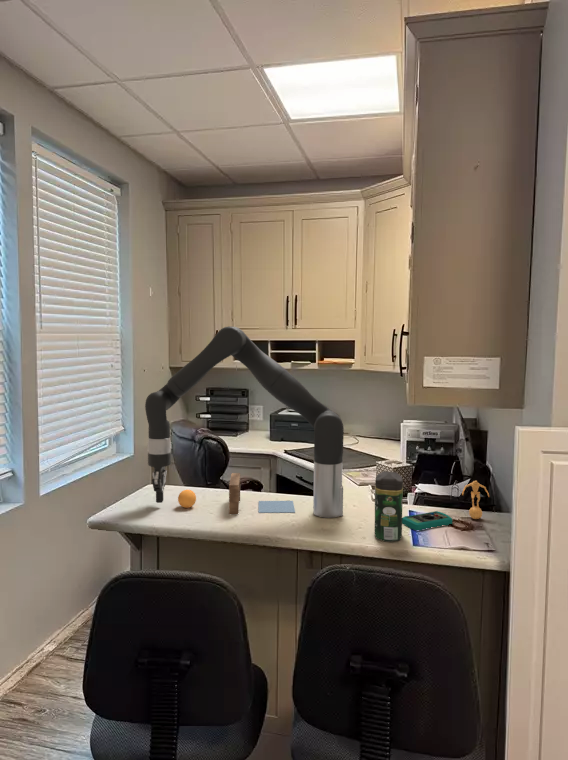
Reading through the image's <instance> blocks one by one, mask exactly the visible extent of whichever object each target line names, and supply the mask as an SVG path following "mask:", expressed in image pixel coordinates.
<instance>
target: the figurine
mask: <svg viewBox="0 0 568 760" xmlns="http://www.w3.org/2000/svg"><path fill="white" fill-rule="evenodd" d="M469 487H471V489H472V491H471V492H470V494H471V495H470V496H471V505H472V507H470V509H469V510H468V514H469V516H470V518H472V519H474V520H479V519H481V518H482V516H483V511H482V508H480V506H479V502H480V500H481V496H480V495H481V492H480V491H479V488H480V487H481V488H483V489H484V491H485V492H486V494H487V496H488V498H490V494H489V492H488V490H487V487H486V486H484V485H482V484H480V483H479V482H478V480H473V481H472V482H470V483H469V484H465V486H464V487H463V490H462V493H461V496H464V494H465V490H466V489H467V488H469ZM475 497H476V498H477V500H476V505H475V503H474V502H475Z"/></svg>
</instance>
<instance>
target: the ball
mask: <svg viewBox="0 0 568 760" xmlns="http://www.w3.org/2000/svg"><path fill="white" fill-rule="evenodd" d="M196 495H197V494H196V493H195V492H194V490H191V489H183V490H182V491H180V492H179V494H178V497H177V500H178V501H177V502H178V504H179V505H180V507H182V508H185V509H189V508H191V507H194V505H195V504H196V502H197V496H196Z"/></svg>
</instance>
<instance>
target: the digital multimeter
mask: <svg viewBox="0 0 568 760" xmlns="http://www.w3.org/2000/svg"><path fill="white" fill-rule="evenodd" d="M449 524H452V525H453V517H451V516H450V515H448V514H446V513H444V512H441V511H438V510H436V511H435V510H434V511H429V512H424V513H419V514H412V515H411V514H410V515H404V516H402V525H404V526H405V527H407V528H409V529H411V530H413V529H414V530H413V531H415V530H420V531H423V530H422V529H425V530H427V529H426V528H429V529H432V528H431V527H435V528H438V527H437V526H440V527H443V526H442V525H446V526H450V525H449Z"/></svg>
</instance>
